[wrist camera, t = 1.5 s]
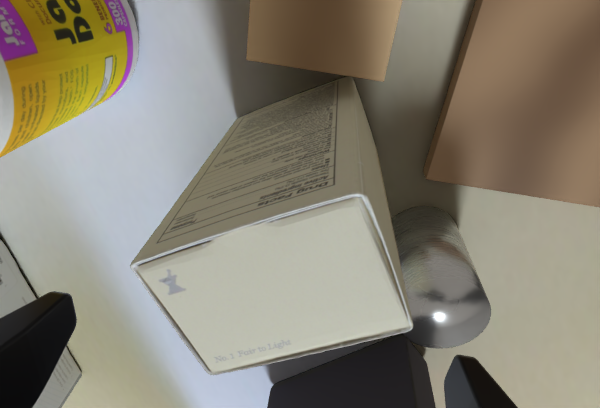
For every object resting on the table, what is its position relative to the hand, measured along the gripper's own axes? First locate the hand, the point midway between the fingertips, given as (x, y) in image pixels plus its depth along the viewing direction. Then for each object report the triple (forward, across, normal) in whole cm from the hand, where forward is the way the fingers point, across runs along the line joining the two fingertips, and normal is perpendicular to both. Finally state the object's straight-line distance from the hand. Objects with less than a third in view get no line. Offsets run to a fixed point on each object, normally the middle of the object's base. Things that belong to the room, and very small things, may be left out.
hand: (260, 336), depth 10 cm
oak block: (+13, 0, -6) cm, 14 cm away
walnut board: (+13, -11, -4) cm, 18 cm away
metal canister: (+13, -7, +5) cm, 16 cm away
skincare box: (+13, 0, 0) cm, 13 cm away
